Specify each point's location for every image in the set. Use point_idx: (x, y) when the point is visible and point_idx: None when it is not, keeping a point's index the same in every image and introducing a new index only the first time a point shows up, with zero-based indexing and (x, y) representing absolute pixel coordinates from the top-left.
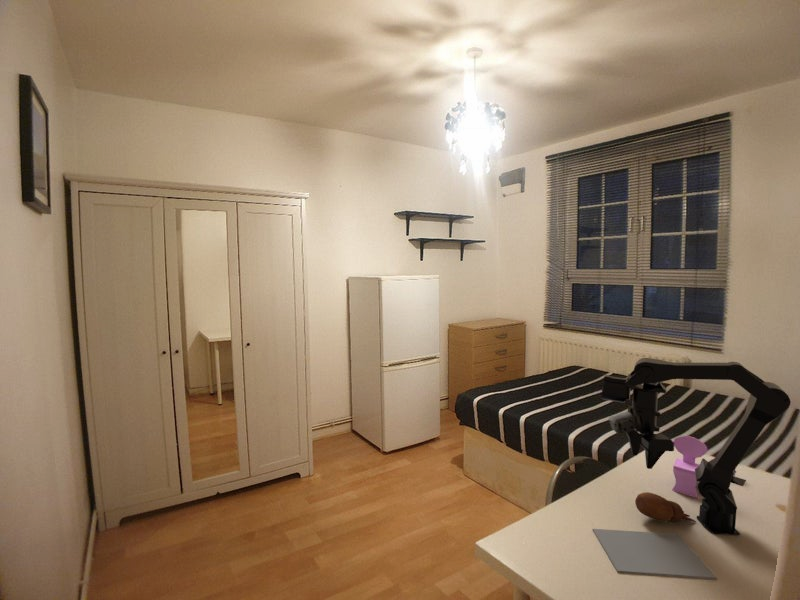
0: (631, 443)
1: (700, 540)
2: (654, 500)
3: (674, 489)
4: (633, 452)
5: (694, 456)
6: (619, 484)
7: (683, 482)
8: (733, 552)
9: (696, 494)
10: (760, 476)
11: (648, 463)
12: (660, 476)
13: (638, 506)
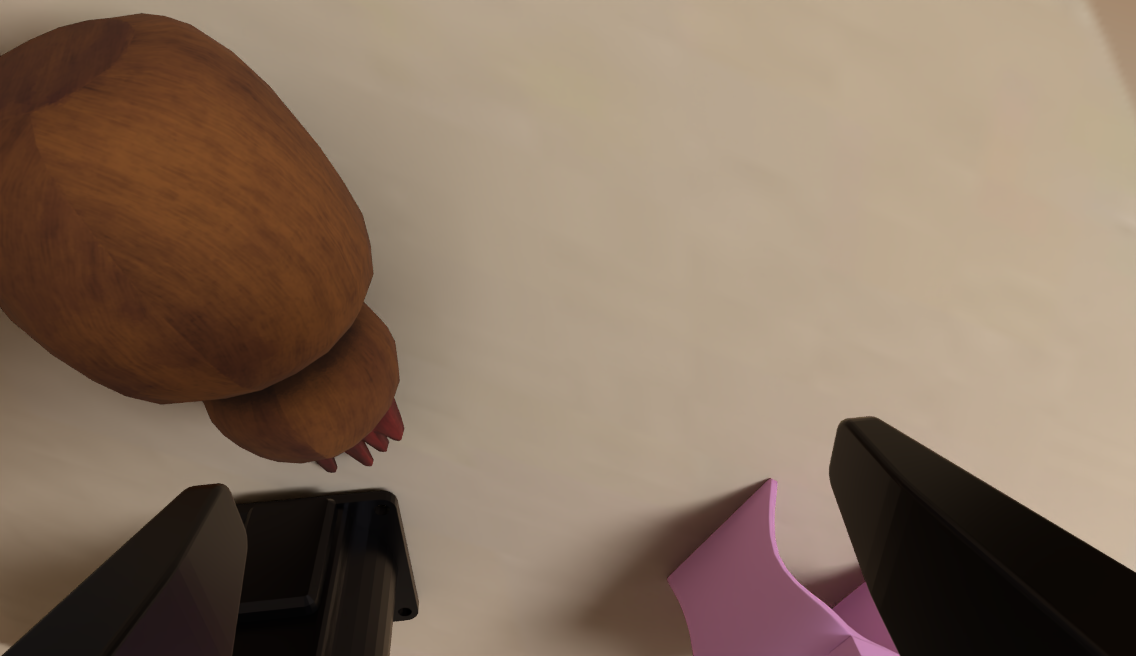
0: (1040, 621)
1: (69, 410)
2: None
3: (761, 497)
4: (870, 463)
5: None
6: (900, 91)
7: (742, 597)
8: (13, 534)
9: (675, 592)
10: None
11: (84, 605)
12: None
13: (81, 26)
